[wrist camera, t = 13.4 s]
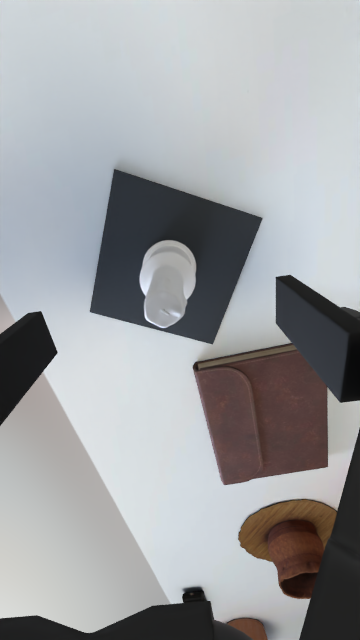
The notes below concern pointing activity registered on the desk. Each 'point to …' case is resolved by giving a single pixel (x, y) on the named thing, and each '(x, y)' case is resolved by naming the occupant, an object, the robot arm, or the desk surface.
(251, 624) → the potted plant
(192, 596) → the toy car
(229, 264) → the mat
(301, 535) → the ceramic pot
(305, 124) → the desk surface
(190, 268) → the candle
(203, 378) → the notebook
